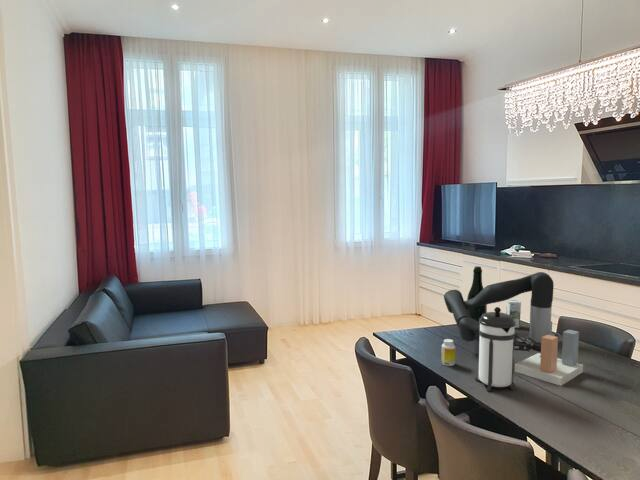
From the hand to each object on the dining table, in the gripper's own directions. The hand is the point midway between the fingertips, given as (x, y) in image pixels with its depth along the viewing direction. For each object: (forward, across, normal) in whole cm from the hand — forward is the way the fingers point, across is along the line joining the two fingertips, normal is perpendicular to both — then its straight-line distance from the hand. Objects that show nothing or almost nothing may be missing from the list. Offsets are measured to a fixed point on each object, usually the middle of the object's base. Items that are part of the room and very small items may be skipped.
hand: (543, 349), depth 177 cm
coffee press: (-9, +21, -11) cm, 26 cm away
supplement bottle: (-32, +17, -11) cm, 38 cm away
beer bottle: (-53, -38, -11) cm, 66 cm away
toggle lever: (-5, -13, -7) cm, 16 cm away
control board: (+1, -6, -11) cm, 12 cm away
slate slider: (+5, -13, -7) cm, 16 cm away
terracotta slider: (+2, 0, -8) cm, 8 cm away
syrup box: (-41, -53, -11) cm, 68 cm away
